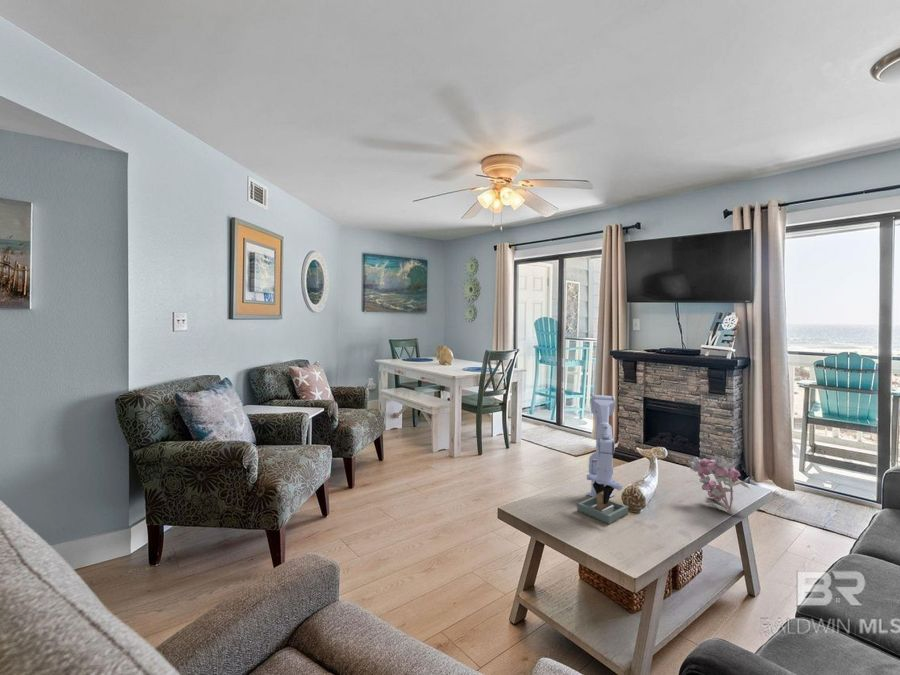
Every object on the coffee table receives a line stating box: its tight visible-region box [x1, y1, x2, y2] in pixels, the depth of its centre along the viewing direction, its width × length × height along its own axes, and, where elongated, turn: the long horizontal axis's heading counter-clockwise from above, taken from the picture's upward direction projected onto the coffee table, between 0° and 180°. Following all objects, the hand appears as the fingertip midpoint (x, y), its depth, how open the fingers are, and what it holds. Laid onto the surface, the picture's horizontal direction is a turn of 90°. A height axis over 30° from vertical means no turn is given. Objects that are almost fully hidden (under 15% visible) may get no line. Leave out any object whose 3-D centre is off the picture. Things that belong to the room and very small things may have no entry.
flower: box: [687, 454, 750, 516], centre depth 185 cm, size 20×22×24 cm
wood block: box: [596, 491, 609, 511], centre depth 176 cm, size 6×2×8 cm, turn 130°
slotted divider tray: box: [576, 495, 629, 525], centre depth 176 cm, size 14×14×3 cm
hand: (602, 502), depth 176 cm, fingers closed on wood block, 2 cm apart
